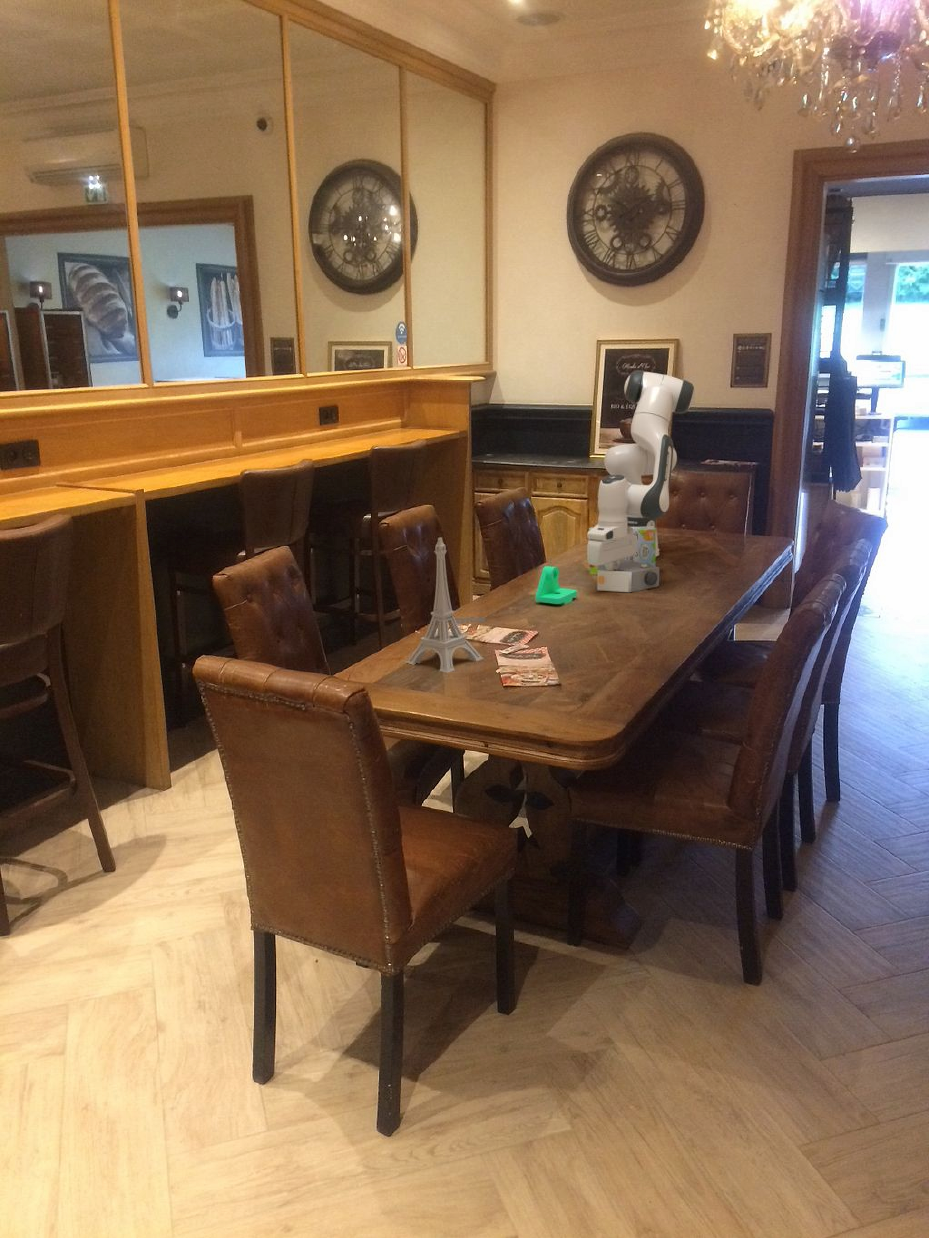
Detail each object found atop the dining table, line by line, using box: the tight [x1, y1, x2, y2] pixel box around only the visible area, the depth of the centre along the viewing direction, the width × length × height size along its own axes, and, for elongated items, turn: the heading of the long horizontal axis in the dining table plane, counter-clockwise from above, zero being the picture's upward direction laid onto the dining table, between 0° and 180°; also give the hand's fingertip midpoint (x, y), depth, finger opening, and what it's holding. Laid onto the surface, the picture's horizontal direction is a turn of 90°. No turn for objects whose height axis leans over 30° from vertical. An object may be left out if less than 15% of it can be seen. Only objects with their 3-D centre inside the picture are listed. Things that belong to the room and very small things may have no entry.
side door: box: [597, 570, 632, 593], centre depth 298 cm, size 10×2×6 cm, turn 68°
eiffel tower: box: [404, 537, 485, 674], centre depth 233 cm, size 13×13×30 cm
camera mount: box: [534, 565, 578, 606], centre depth 288 cm, size 12×8×10 cm, turn 146°
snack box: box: [588, 527, 657, 576], centre depth 321 cm, size 21×6×15 cm, turn 84°
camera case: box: [596, 559, 660, 593], centre depth 306 cm, size 17×11×7 cm, turn 33°
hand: (612, 575), depth 300 cm, fingers closed
